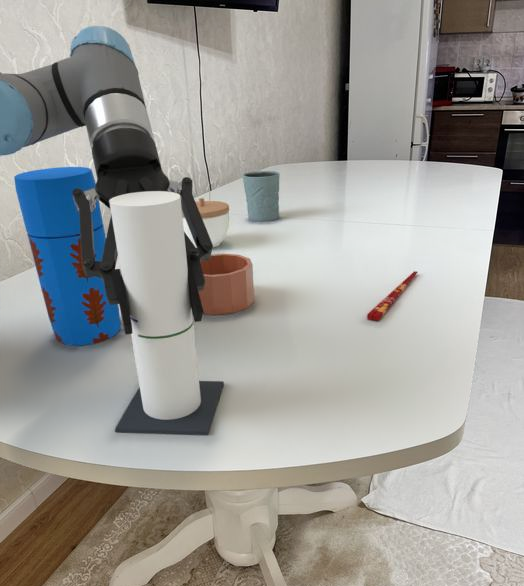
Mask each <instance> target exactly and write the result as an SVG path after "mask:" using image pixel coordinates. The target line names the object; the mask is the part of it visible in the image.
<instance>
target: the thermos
mask: <svg viewBox="0 0 524 586" xmlns="http://www.w3.org/2000/svg"><path fill="white" fill-rule="evenodd" d="M13 178H14V186H15V192H16V196H17V200H18V204H19V208H20V211H21V215H22V219H23V223H24V227H25V231H26V233H27V234H26V236H27V239H28V243H29V247H30V250H31V254H32V258H33V263H34V266H35V270H36V274H37V278H38V281H39V285H40V288H41V289H40V291H41V294H42V296H43V301H44V305H45V309H46V312H47V316H48V321H49V322H50V326H51V329H52V332H53V334H54V337H55V339H56V342H58V343H60V344H62V345H66V346H73V347H75V346H88V345H93V344H98V343H101V342H104V341H107V340H109V339H111V338H113V337H114V336H116V335H117V334H118V333H119V332H120V331H121V325H122V323H121V316H120V306H119V304H116V305H110V304H109V303H108V301H107V296H106V292H105V287H104V282H103V280H102V279H101V278H100V277H95V276H94V277H91V278H90V277H87V276H86V275H85V273H84V269H83V265H82V256H81V238H80V221H79V213H78V211H77V209H76V207H75V203H74V199H73V194H72V191H73V190H74V189H75V188H80V189H82V190H83V192H84V191H87V190H90V189H93V188H95V184H96V179H95V176H94V173H93V170H92V168H90V167H85V166H61V167H60V166H59V167H51V168H50V167H47V168H40V169H33V170H29V171H24V172H21V173H18V174H16V175H14V177H13ZM95 206H96V207H95V209H94V210H93V212H91V215H92V221H93V236H94V251H95V261H101V260H102V255H103V251H104V246H105V241H106V236H107V235H106V232H105V226H104V222H103V221H104V220H103V215H102V210H101V205H100V200H97V201H96V202H95Z"/></svg>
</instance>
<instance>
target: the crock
mask: <svg viewBox="0 0 524 586" xmlns="http://www.w3.org/2000/svg"><path fill="white" fill-rule="evenodd" d="M201 267H202V271H203V275H204V278H205V284H204V289H203V290H202V291H198V292H199V296H200V300H201V304H202V307H203V311H204V312H203V315H210V316H217V315H229V314H234V313H237V312H240V311H243V310H246V309H248V308H249V307H250V306H251V305H252V304H253V303H254V302H255V287H254V269H253V268H254V266H253V263H252V260H251V258H249V257H247V256H244V255H242V254H237V253H213V254H212V253H211V257H210V259H209V260H207V261H205V260H204V261H202V262H201Z"/></svg>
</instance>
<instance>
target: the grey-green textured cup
mask: <svg viewBox="0 0 524 586" xmlns="http://www.w3.org/2000/svg"><path fill="white" fill-rule="evenodd" d="M242 180H243V182H242V183H243V189H244V193H245V201H246V208H247V210H246V211H247V217H248V220H249V221H252V222H259V223H261V222H271V221H275V220H278V219H279V217H280V205H279V201H280V196H279V195H280V193H279V192H280V172H279V171H277V170H276V171H275V170H261V171H260V170H257V171H250V172H245V173H243V174H242Z"/></svg>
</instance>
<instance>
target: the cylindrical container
mask: <svg viewBox="0 0 524 586" xmlns="http://www.w3.org/2000/svg"><path fill="white" fill-rule="evenodd" d="M109 203H110V209H111V210H110V209H109V210H110V216H111V215H112V221H113V227H114V233H115V240H116V246H117V252H118V257H117V259H118V263H119V269H120V272H121V276H122V281H123V286H124V290H125V295H126V300H127V304H128V309H129V314H130V318H131V323H132V334H130V336H131V343H132V349H133V354H134V361H135V367H136V374H137V379H138V386H139V387H140V392H141V398H142V404H143V409H144V411H145V413H146V414H147V415H149V416H150V417H153V418H156V419H162V420H170V419H177V418H181V417H185V416H187V415H189V414H191V413H193V412H194V411H195V410H196V409H197V408H198V407H199V406H200V403H201V396H200V386H199V381H200V377H199V367H198V358H197V347H196V338H195V337H196V336H195V329H194V328H195V326H194V317H193V313H192V309H191V303H190V294H189V285H188V267H187V257H186V247H185V238H184V228H183V218H182V208H181V198H180V195H179V194H177V193H174V192H166V191H146V192H135V193H129V194H123V195H119V196H116V197H113V198H112V199H110V200H109Z"/></svg>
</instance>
